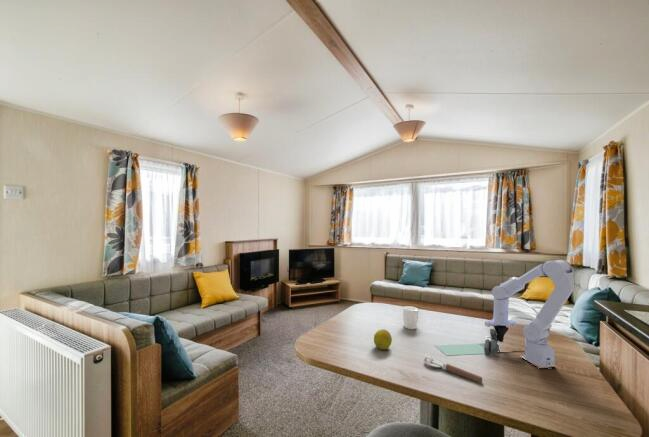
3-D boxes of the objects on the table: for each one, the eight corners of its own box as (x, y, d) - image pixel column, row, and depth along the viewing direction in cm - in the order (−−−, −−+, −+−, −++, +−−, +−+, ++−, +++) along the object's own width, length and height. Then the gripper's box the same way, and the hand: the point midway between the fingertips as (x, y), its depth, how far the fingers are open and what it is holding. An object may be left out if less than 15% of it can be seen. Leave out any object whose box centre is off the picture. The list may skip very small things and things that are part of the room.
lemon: (386, 355, 115) (386, 336, 116) (369, 349, 120) (370, 331, 120) (395, 346, 124) (396, 328, 124) (379, 341, 129) (380, 324, 129)
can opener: (486, 339, 134) (484, 326, 134) (498, 341, 131) (496, 327, 132) (483, 354, 118) (481, 339, 119) (497, 356, 115) (495, 341, 116)
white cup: (416, 324, 151) (416, 306, 151) (419, 330, 143) (420, 311, 143) (401, 323, 152) (402, 305, 152) (404, 329, 144) (404, 310, 144)
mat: (525, 351, 122) (525, 351, 122) (446, 355, 117) (446, 355, 117) (509, 342, 131) (509, 342, 131) (434, 345, 125) (434, 345, 125)
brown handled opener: (483, 381, 100) (484, 373, 99) (480, 389, 95) (480, 380, 95) (427, 360, 113) (428, 352, 113) (422, 365, 108) (422, 358, 108)
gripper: (507, 308, 131) (506, 336, 131) (480, 309, 129) (479, 337, 129) (520, 314, 124) (519, 343, 124) (491, 314, 122) (490, 344, 122)
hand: (499, 341), depth 126 cm, fingers closed, pressing on can opener
